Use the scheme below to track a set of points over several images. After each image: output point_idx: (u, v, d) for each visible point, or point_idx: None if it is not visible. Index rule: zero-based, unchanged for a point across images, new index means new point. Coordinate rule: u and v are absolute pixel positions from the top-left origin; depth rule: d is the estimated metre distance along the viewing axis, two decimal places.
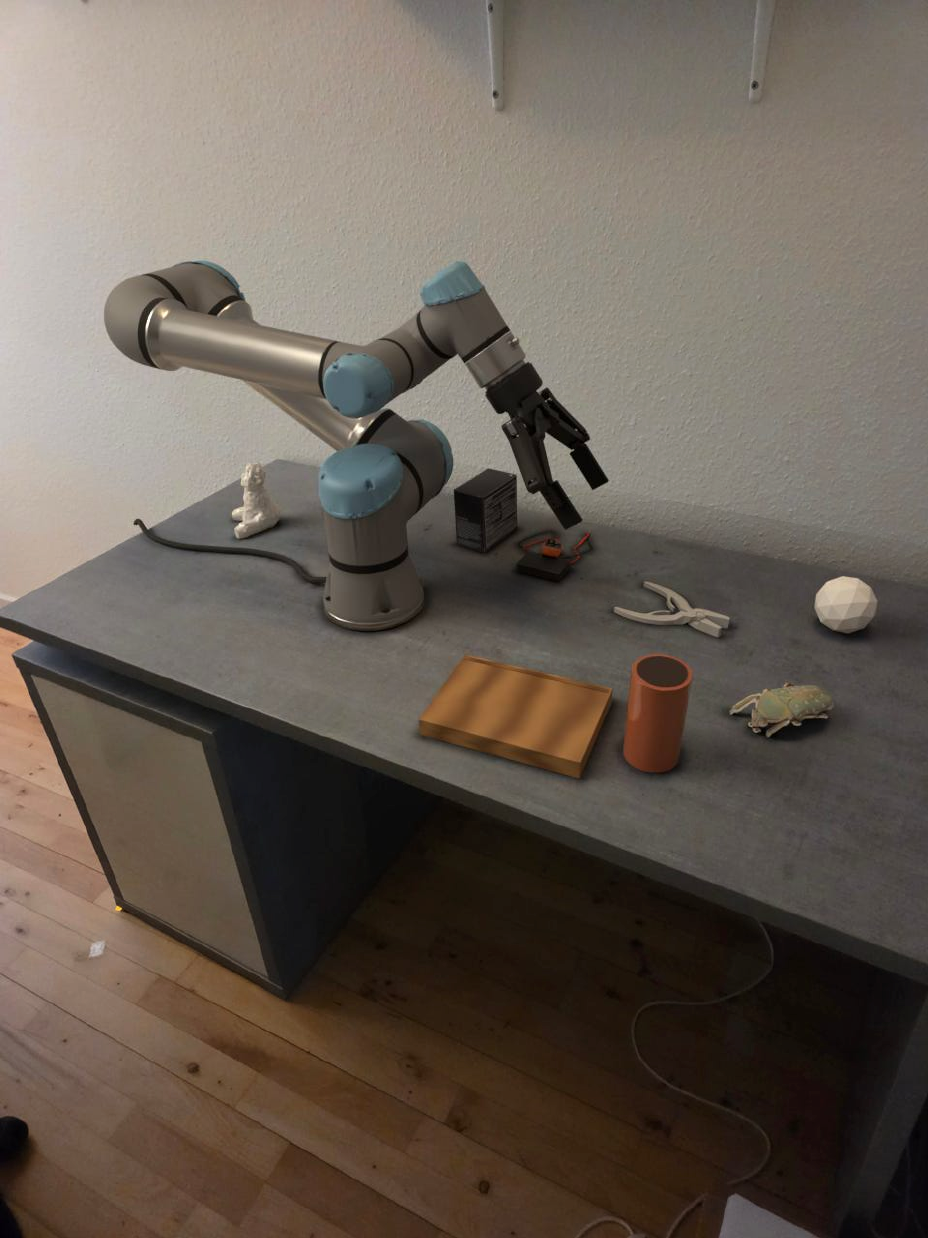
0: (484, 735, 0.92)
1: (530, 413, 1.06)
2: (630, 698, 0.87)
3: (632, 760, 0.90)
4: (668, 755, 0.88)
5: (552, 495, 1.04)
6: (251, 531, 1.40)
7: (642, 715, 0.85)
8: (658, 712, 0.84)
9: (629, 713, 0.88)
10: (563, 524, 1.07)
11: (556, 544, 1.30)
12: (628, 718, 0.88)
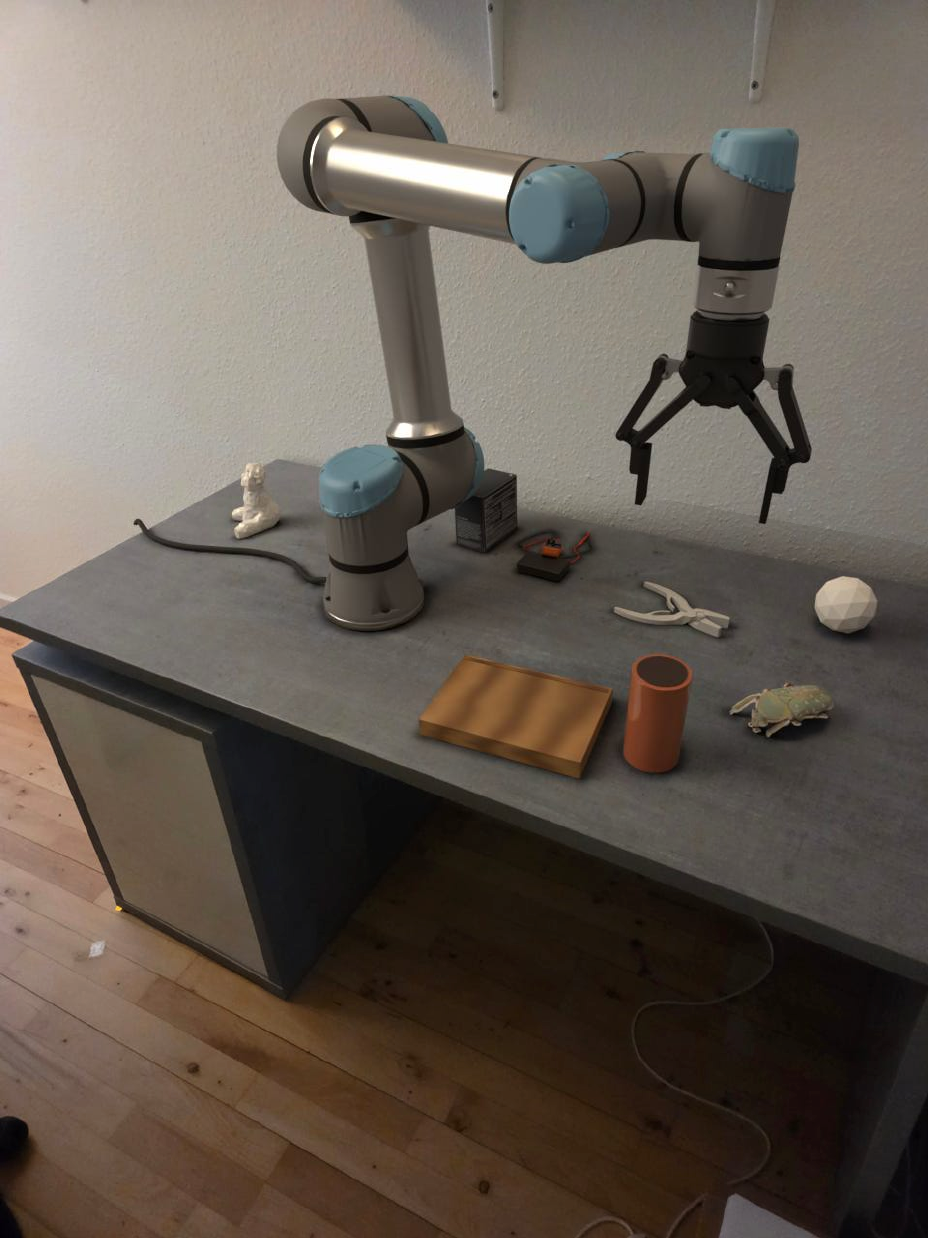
0: (484, 735, 0.92)
1: (698, 373, 0.81)
2: (630, 698, 0.87)
3: (632, 760, 0.90)
4: (668, 755, 0.88)
5: None
6: (251, 531, 1.40)
7: (642, 715, 0.85)
8: (658, 712, 0.84)
9: (629, 713, 0.88)
10: None
11: (556, 544, 1.30)
12: (628, 718, 0.88)
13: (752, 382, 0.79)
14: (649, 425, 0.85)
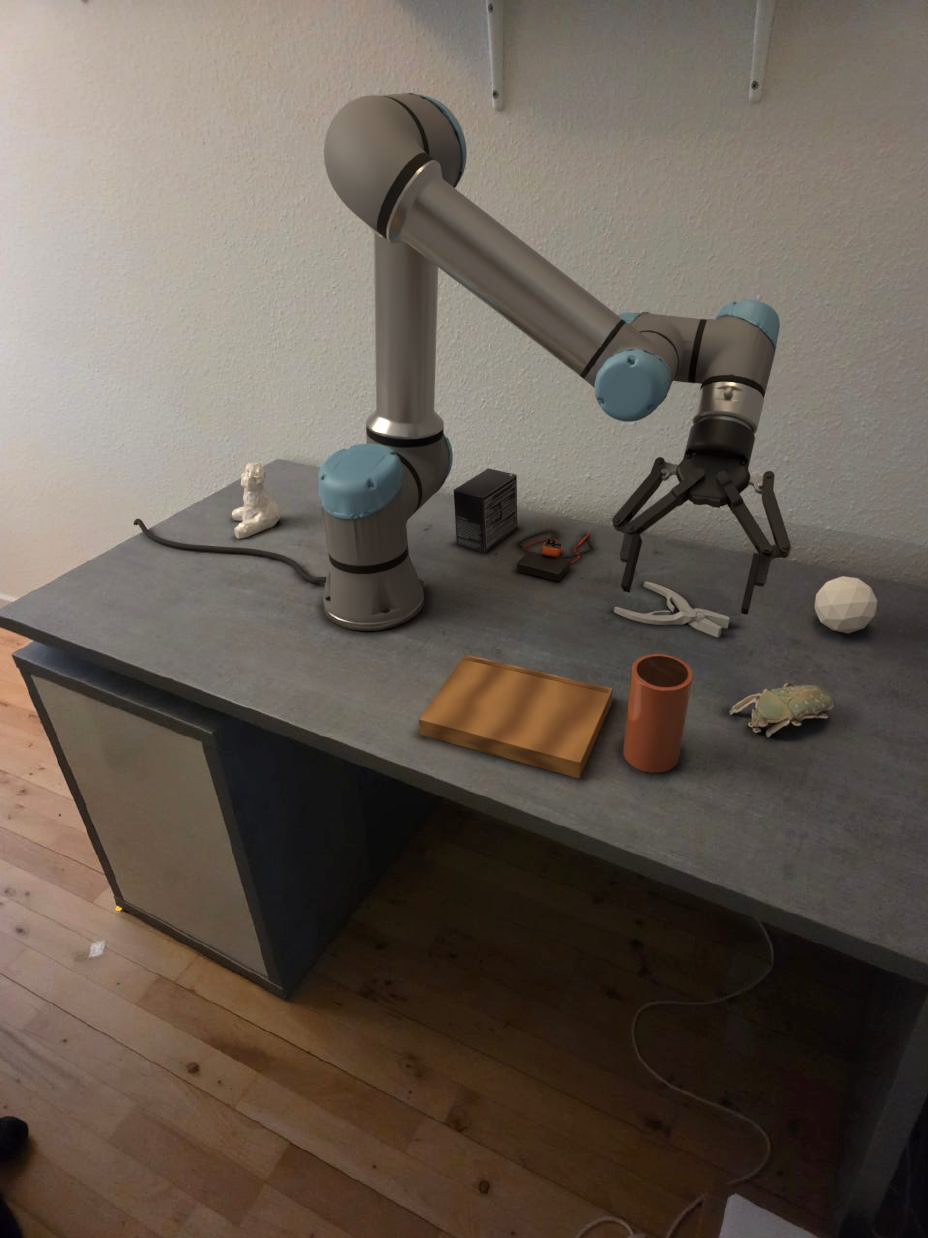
0: (484, 735, 0.92)
1: (693, 470, 0.93)
2: (630, 698, 0.87)
3: (632, 760, 0.90)
4: (668, 755, 0.88)
5: (622, 543, 0.94)
6: (251, 531, 1.40)
7: (642, 715, 0.85)
8: (658, 712, 0.84)
9: (629, 713, 0.88)
10: None
11: (556, 544, 1.30)
12: (628, 718, 0.88)
13: (740, 480, 0.91)
14: (645, 512, 0.93)
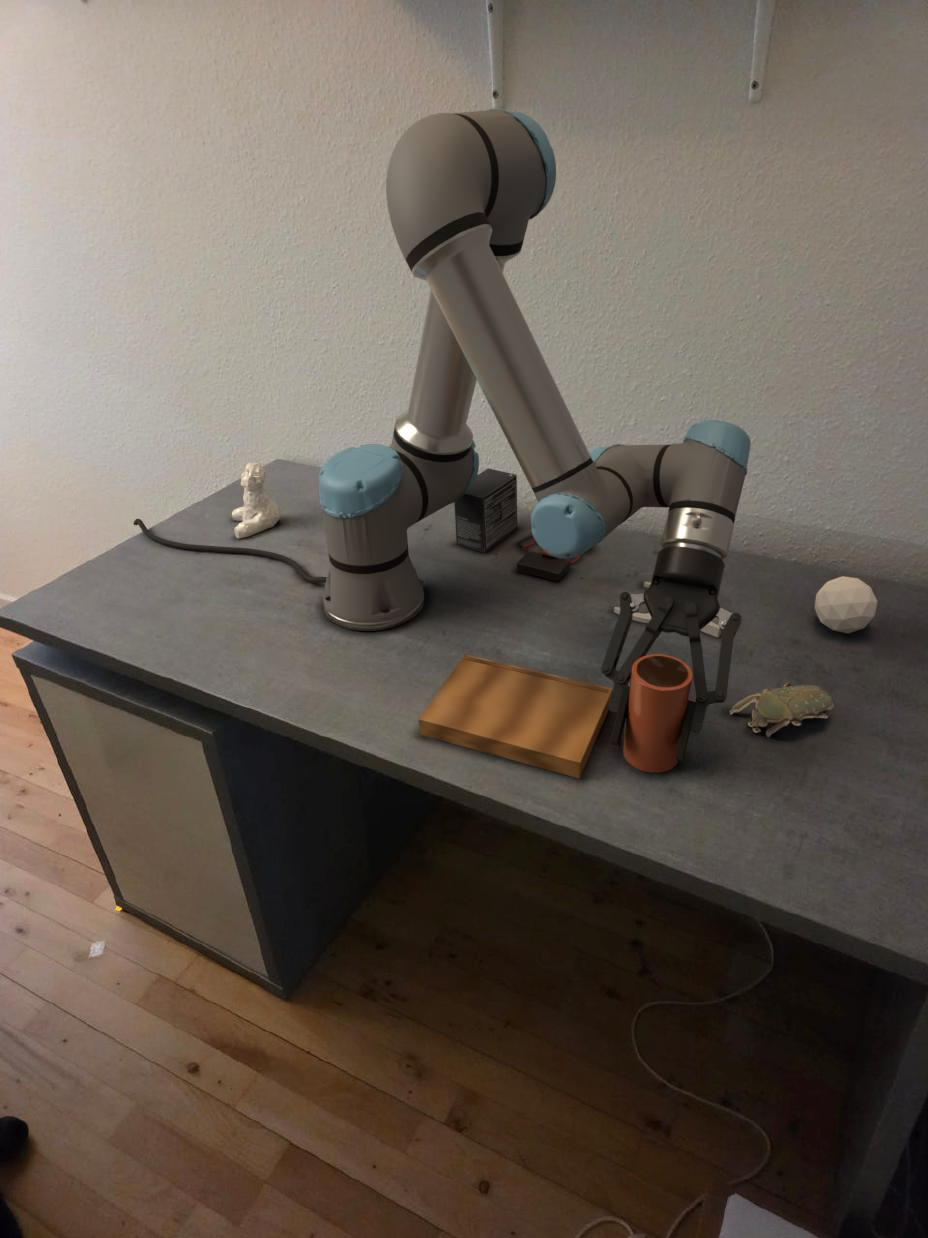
0: (484, 735, 0.92)
1: (661, 595, 0.89)
2: (630, 698, 0.87)
3: (632, 760, 0.90)
4: (668, 755, 0.88)
5: (612, 694, 0.89)
6: (251, 531, 1.40)
7: (642, 715, 0.85)
8: (658, 712, 0.84)
9: (629, 713, 0.88)
10: None
11: None
12: (628, 718, 0.88)
13: (709, 610, 0.87)
14: (628, 657, 0.89)
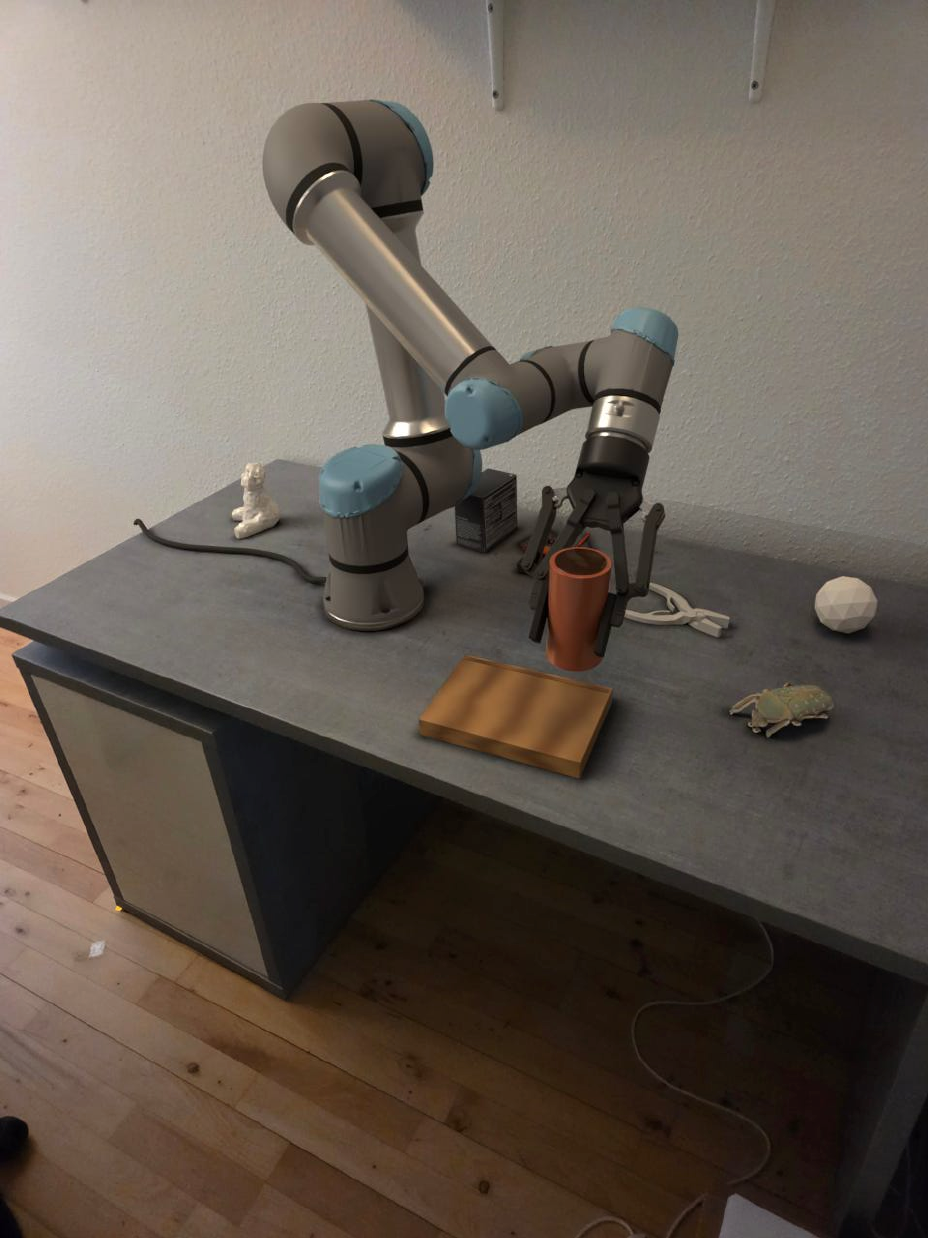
0: (484, 735, 0.92)
1: (584, 487, 0.86)
2: (549, 591, 0.84)
3: (553, 659, 0.87)
4: (589, 652, 0.85)
5: (532, 589, 0.86)
6: (251, 531, 1.40)
7: (560, 607, 0.82)
8: (576, 602, 0.81)
9: (549, 608, 0.85)
10: None
11: None
12: (548, 614, 0.85)
13: (631, 502, 0.84)
14: (549, 552, 0.86)
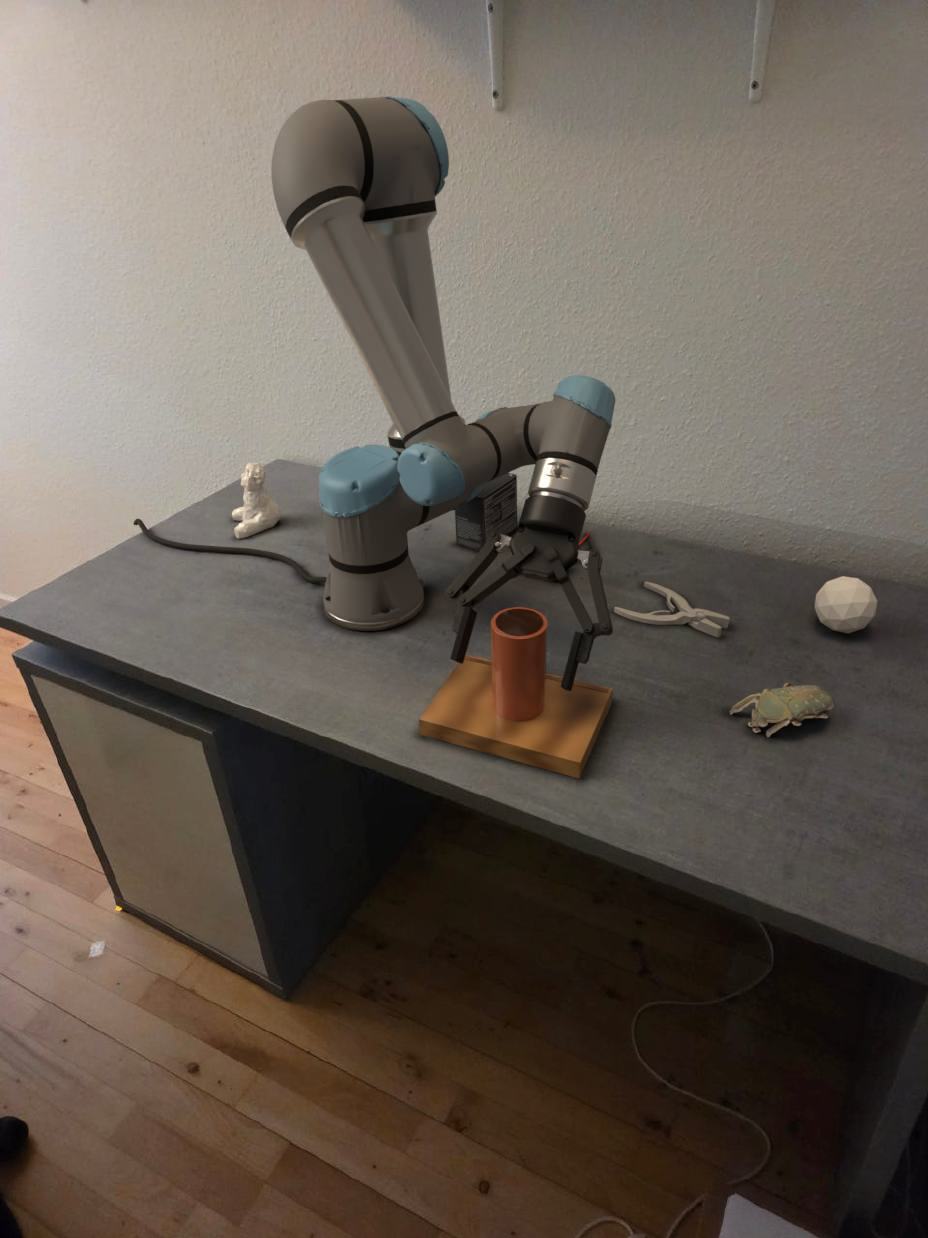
0: (484, 735, 0.92)
1: (524, 544, 0.93)
2: (491, 648, 0.91)
3: (498, 709, 0.94)
4: (529, 703, 0.92)
5: None
6: (251, 531, 1.40)
7: (501, 664, 0.90)
8: (514, 660, 0.88)
9: (492, 663, 0.92)
10: None
11: None
12: (492, 668, 0.92)
13: (567, 556, 0.91)
14: (477, 585, 0.94)
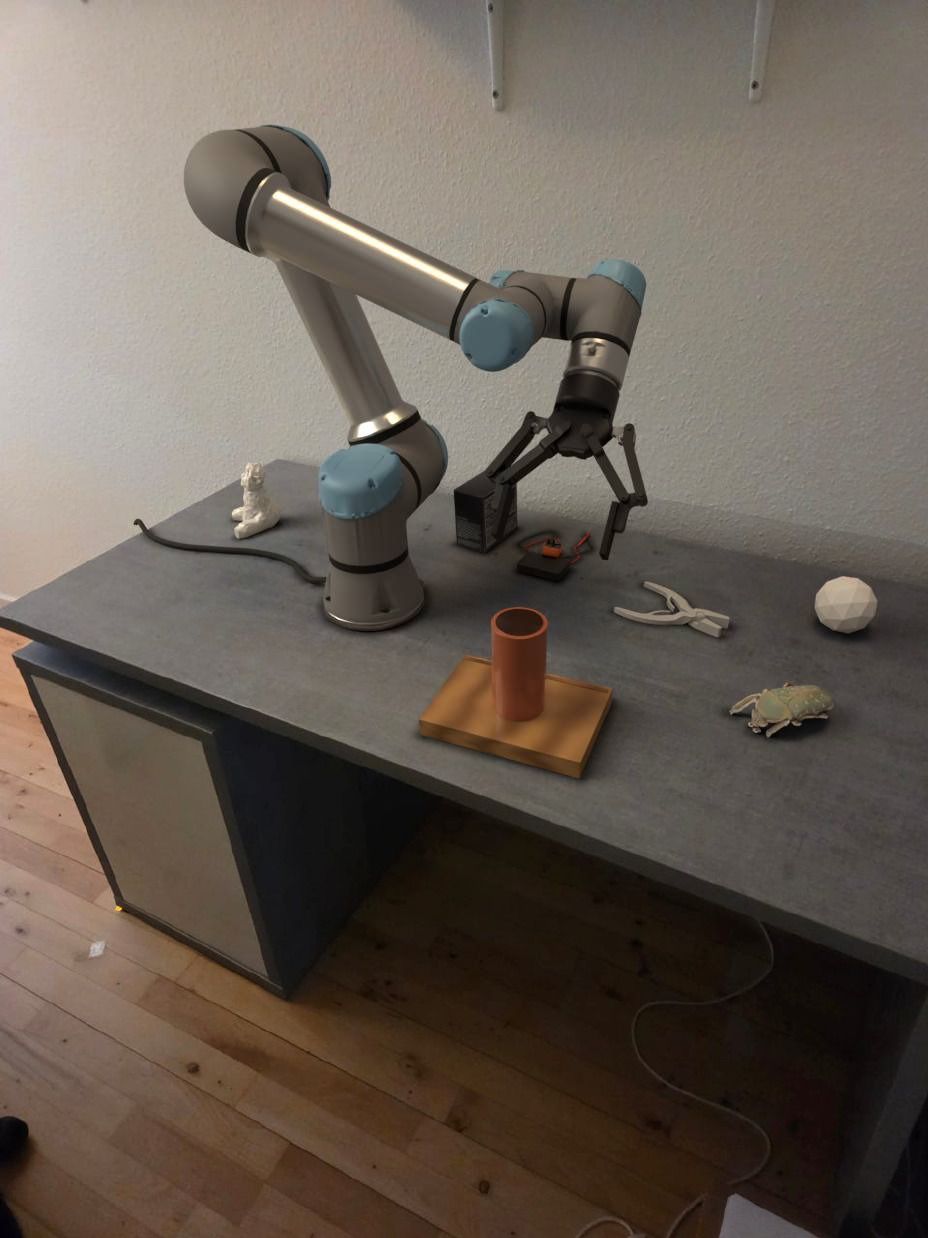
0: (484, 735, 0.92)
1: (560, 423, 0.97)
2: (491, 648, 0.91)
3: (498, 709, 0.94)
4: (529, 703, 0.92)
5: (494, 493, 0.98)
6: (251, 531, 1.40)
7: (501, 664, 0.90)
8: (514, 660, 0.88)
9: (492, 663, 0.92)
10: None
11: (556, 544, 1.30)
12: (492, 668, 0.92)
13: (603, 432, 0.95)
14: (515, 463, 0.98)
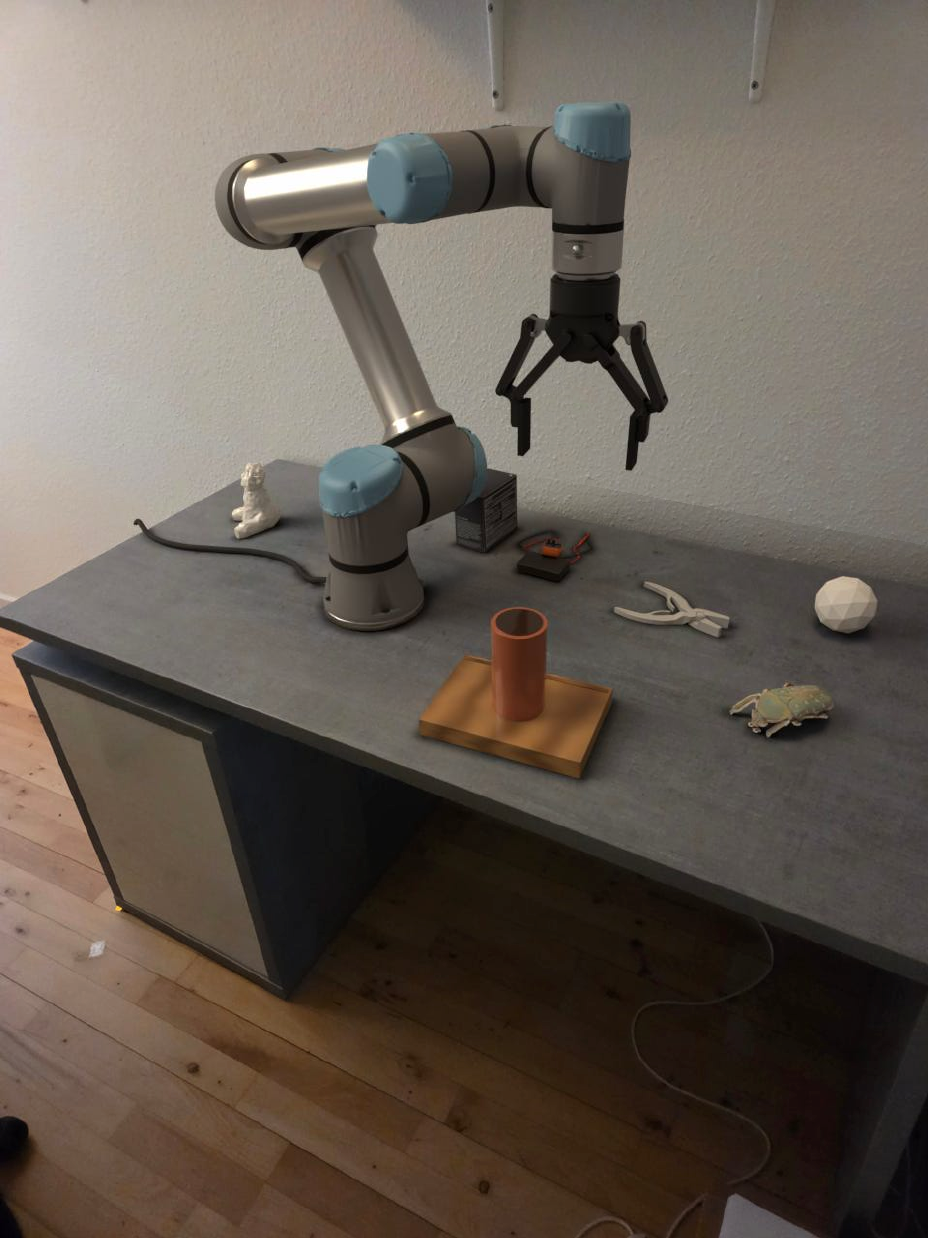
0: (484, 735, 0.92)
1: (561, 331, 0.88)
2: (491, 648, 0.91)
3: (498, 709, 0.94)
4: (529, 703, 0.92)
5: None
6: (251, 531, 1.40)
7: (501, 664, 0.90)
8: (514, 660, 0.88)
9: (492, 663, 0.92)
10: None
11: (556, 544, 1.30)
12: (492, 668, 0.92)
13: (608, 338, 0.86)
14: (523, 380, 0.93)
